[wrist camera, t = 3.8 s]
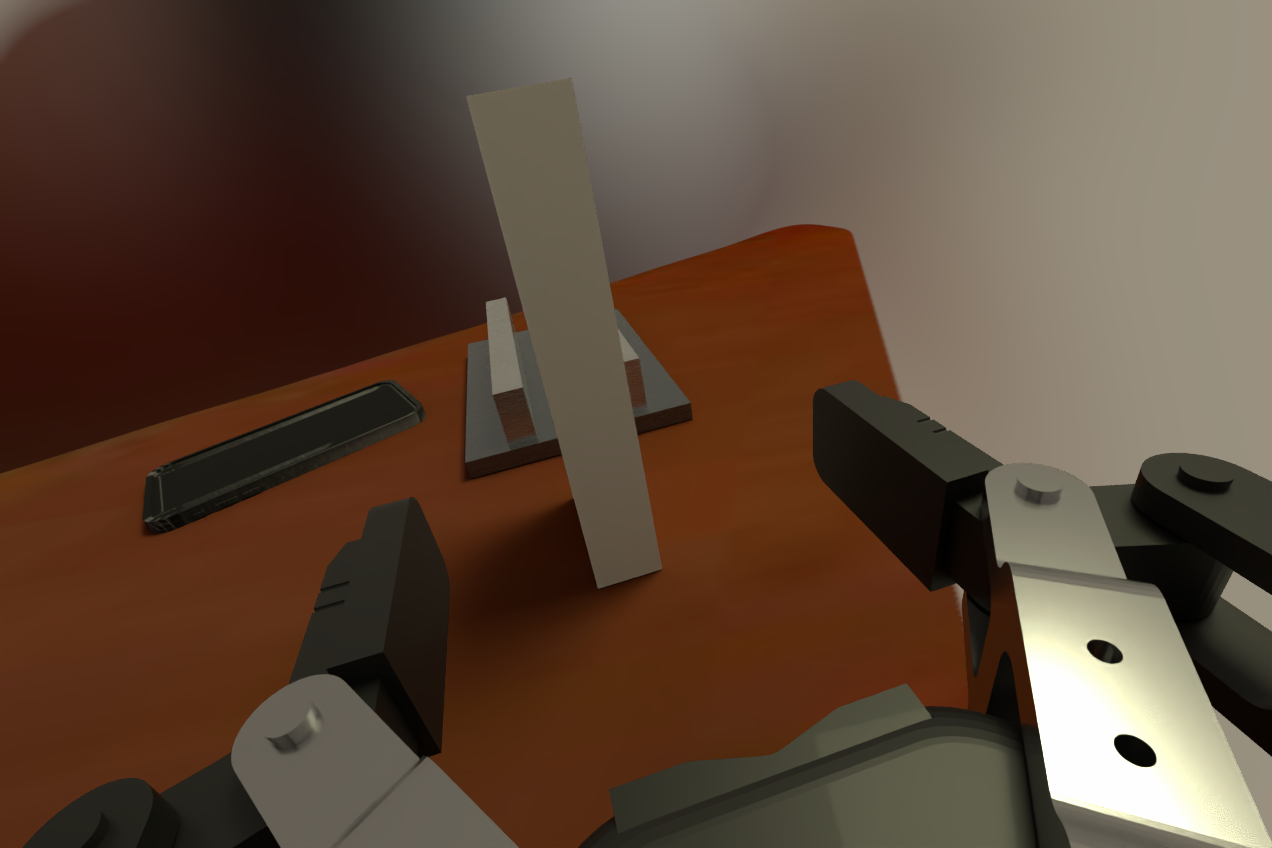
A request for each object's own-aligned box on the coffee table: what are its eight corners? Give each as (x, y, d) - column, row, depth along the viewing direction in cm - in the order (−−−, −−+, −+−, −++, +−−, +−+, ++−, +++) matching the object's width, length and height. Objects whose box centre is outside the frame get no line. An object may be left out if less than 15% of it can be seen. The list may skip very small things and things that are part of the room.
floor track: (471, 478, 29) (445, 410, 27) (472, 356, 44) (456, 307, 42) (692, 418, 31) (684, 350, 29) (619, 320, 46) (610, 272, 44)
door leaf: (597, 588, 21) (466, 96, 13) (573, 497, 26) (468, 104, 18) (666, 567, 21) (579, 76, 13) (629, 481, 26) (550, 89, 19)
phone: (146, 471, 34) (390, 376, 41) (157, 486, 35) (396, 390, 42) (142, 529, 28) (427, 408, 35) (155, 546, 29) (433, 423, 36)
